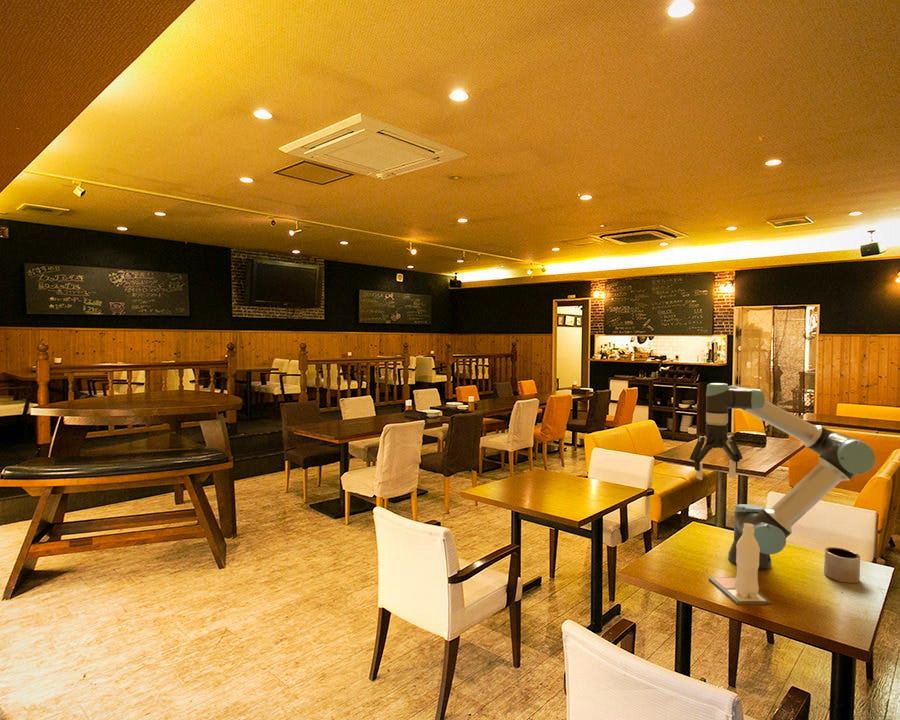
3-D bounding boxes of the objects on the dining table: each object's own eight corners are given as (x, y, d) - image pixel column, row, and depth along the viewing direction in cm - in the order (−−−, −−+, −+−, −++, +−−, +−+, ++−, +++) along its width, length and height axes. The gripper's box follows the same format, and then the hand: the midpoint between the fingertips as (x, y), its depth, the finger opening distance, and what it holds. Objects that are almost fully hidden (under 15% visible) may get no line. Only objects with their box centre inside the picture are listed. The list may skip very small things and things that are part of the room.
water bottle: (730, 590, 185) (732, 521, 184) (749, 589, 185) (751, 520, 184) (743, 600, 178) (745, 528, 177) (763, 599, 178) (765, 528, 177)
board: (740, 579, 195) (740, 577, 195) (771, 603, 177) (771, 601, 177) (708, 579, 195) (708, 577, 195) (736, 604, 177) (736, 601, 177)
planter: (854, 574, 200) (855, 550, 200) (863, 586, 190) (864, 560, 190) (820, 569, 205) (821, 545, 204) (827, 580, 195) (828, 555, 195)
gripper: (740, 421, 204) (739, 474, 205) (680, 422, 202) (679, 476, 202) (753, 424, 197) (752, 479, 198) (691, 425, 194) (691, 482, 195)
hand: (715, 478), depth 200 cm, fingers open, 13 cm apart
